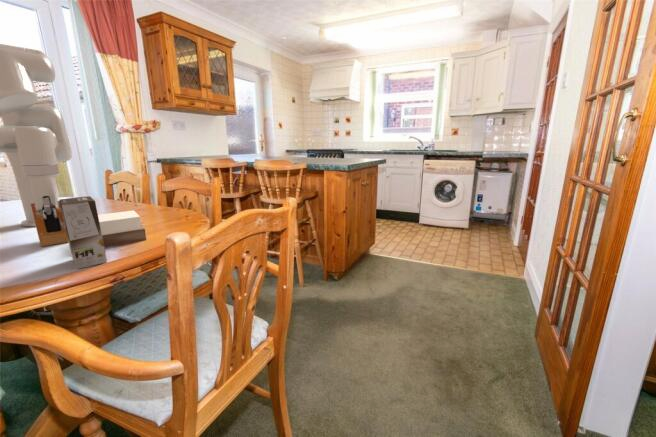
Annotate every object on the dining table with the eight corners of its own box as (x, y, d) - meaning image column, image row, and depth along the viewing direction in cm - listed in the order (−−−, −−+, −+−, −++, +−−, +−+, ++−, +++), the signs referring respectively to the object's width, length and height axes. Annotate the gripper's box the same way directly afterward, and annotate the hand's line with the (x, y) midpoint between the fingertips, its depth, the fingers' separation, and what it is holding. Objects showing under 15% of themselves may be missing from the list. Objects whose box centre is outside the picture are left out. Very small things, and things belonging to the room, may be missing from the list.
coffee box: (108, 262, 75) (95, 200, 71) (75, 269, 71) (60, 204, 67) (102, 253, 81) (90, 195, 77) (72, 259, 77) (57, 198, 73)
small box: (40, 247, 85) (29, 203, 82) (40, 242, 90) (29, 200, 87) (76, 241, 91) (67, 199, 88) (75, 236, 95) (66, 196, 92)
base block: (96, 239, 94) (94, 227, 93) (140, 232, 101) (138, 221, 100) (98, 249, 85) (96, 236, 84) (146, 241, 92) (144, 229, 91)
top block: (94, 228, 92) (92, 215, 91) (135, 222, 99) (133, 210, 98) (97, 236, 84) (94, 222, 83) (141, 229, 91) (139, 216, 90)
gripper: (27, 169, 89) (41, 224, 93) (18, 174, 76) (35, 237, 80) (60, 168, 94) (72, 220, 98) (57, 172, 81) (71, 232, 85)
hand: (55, 227), depth 89 cm, fingers open, 9 cm apart
